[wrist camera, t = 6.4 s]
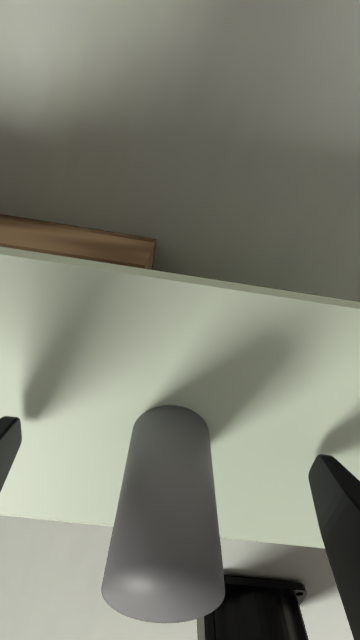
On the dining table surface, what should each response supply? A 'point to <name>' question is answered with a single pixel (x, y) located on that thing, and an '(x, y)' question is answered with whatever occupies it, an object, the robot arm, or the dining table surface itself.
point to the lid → (172, 416)
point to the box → (76, 242)
